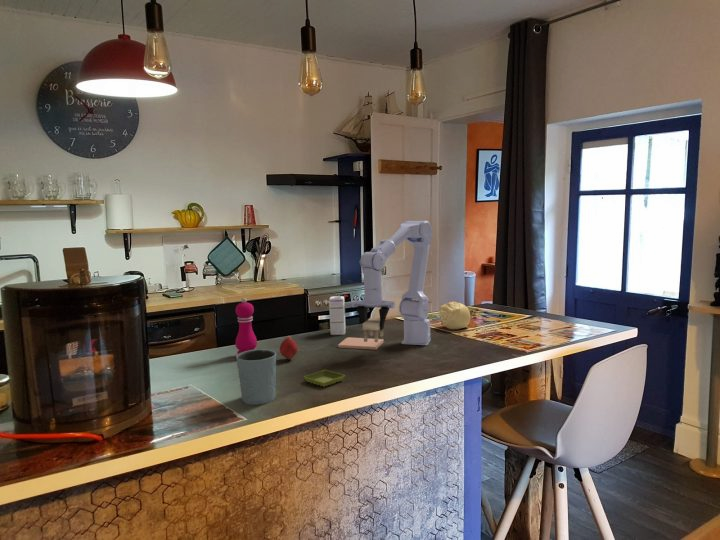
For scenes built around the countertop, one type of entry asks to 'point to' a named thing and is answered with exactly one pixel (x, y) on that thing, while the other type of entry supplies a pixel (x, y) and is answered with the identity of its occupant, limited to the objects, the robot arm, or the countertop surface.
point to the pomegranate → (288, 348)
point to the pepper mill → (245, 327)
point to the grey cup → (257, 375)
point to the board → (360, 343)
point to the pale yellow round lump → (454, 315)
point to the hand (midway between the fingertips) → (373, 328)
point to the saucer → (324, 378)
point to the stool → (372, 328)
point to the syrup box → (337, 315)
